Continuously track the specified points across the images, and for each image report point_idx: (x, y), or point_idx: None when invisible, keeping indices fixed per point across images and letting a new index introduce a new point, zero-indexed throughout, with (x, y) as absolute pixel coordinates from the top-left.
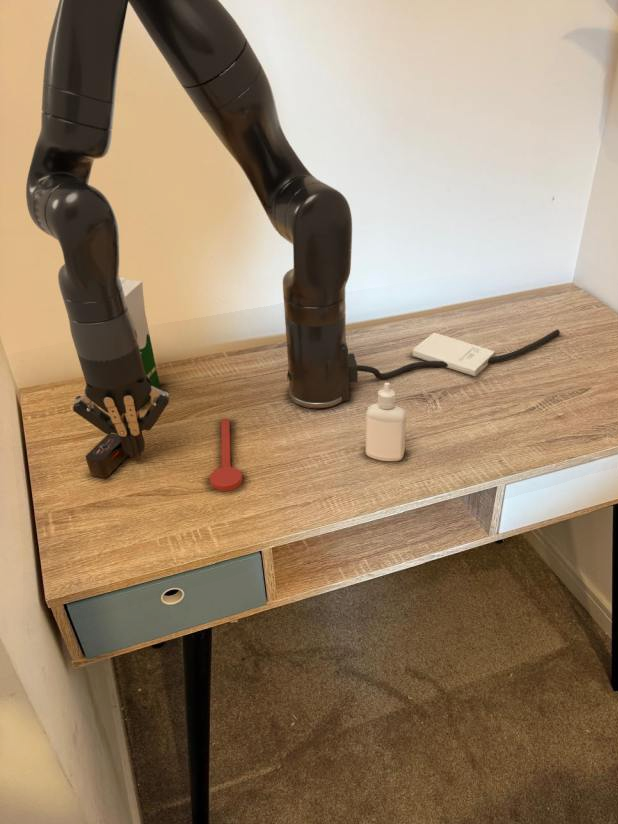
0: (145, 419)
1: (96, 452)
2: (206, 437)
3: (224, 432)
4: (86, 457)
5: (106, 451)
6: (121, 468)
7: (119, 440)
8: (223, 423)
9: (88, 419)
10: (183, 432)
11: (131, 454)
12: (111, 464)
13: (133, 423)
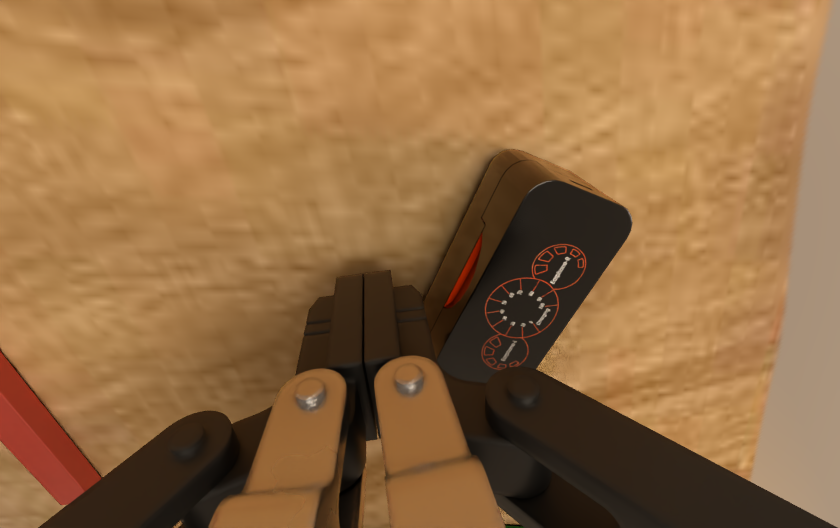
0: (207, 517)
1: (568, 262)
2: (127, 416)
3: (27, 442)
4: (627, 216)
5: (512, 271)
6: (436, 228)
7: (451, 358)
8: (68, 483)
9: (745, 496)
10: None
11: (379, 276)
12: (479, 216)
13: (290, 472)
